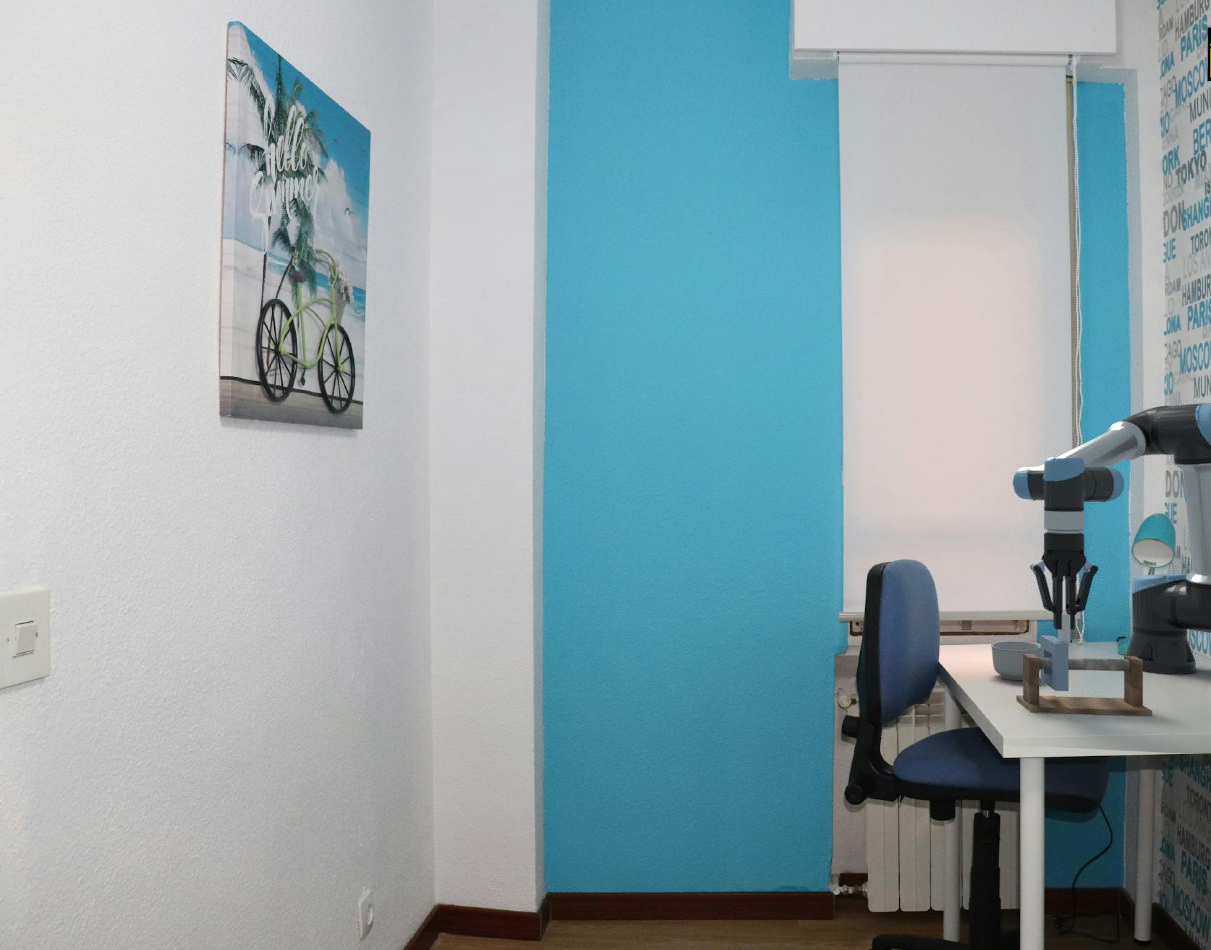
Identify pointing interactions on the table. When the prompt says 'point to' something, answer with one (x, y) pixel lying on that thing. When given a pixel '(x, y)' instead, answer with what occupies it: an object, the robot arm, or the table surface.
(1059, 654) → the ring
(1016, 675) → the teacup
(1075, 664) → the wooden rod stand
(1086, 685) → the table surface
